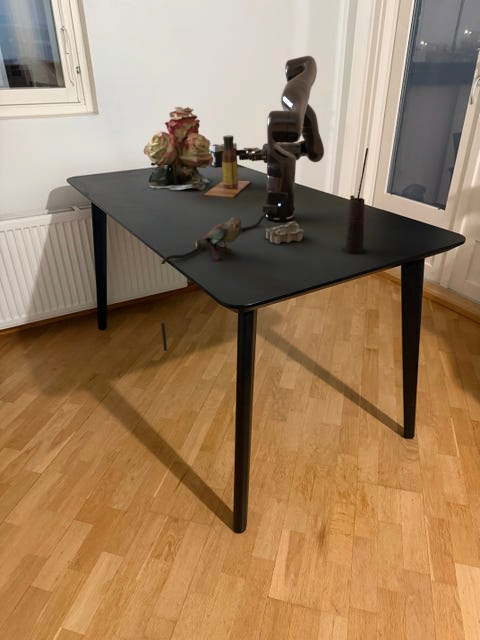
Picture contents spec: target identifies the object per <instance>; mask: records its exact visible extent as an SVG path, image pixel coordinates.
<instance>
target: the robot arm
mask: <svg viewBox="0 0 480 640" xmlns="http://www.w3.org/2000/svg"><path fill="white" fill-rule="evenodd" d="M284 71H285V74H284V75H285V79H286V84H285V85H284V87H283V90H282V93H281V96H280V105H281V107H282V110H270V111H269V113H268V115H267V119H266V141H267V142H266V143H264V144H262V148H261V149H260V148H259V147H244V148H242V149H237V150H235V151H236V154H237V157H238V160H239V161H251V162H259V161H260V162H261V161H262V162H263V163H264V164H266V192H265V193H266V197H265V199H266V200H265V203H264V204H263V205H262V213H263V214H262V215H261V216H260V217H259V219H258V221H257V222H255V223H254V224H252V225H250V226H249V225H248V226H243V227H242V226H241V227H242V231H247V230H251V229H254V228H256V227H258V226H259V225H260V224H261V223H262V221H263V220H264V218H266V219H267V221H273V222H283V223H284V222H286V223H287V221H290V220H293V219H294V216H295V215H294V212H295V211H296V208H295V205H294V204H295V202H294V201H295V188H296V187H295V186H296V184H295V183H296V171H297V170H296V168H297V161H299V160H300V159H301V158H302V157H306V158H307V159H308V160H309V162H311V163H318V162H321V160H323V158H324V156H325V147H324V142H323V140H322V136H321V135H320V130H319V128H320V127H319V122H318V117H317V114H316V112H315V110H314V108H313V107H312V105H310V104H309V100H310V96H311V91H312V88H313V86H314V84H315V82H316V79H317V74H318V66H317V61H316V59H315V58H314V57H313V56H312V55H304V56H299V57H295V58H290V59H288V60H287V61H286V62H285V66H284ZM301 137H302V139H303V140H300V139H301ZM299 140H300V141H299ZM200 250H203V248H196V247H195V248H193V249H192V250H189V251H188V252H186V253H183V254H170V255H167V256H166V257H164V258H163V259H162V260H161V262H160V264H161V265H165V264H166V262H167V261H169V260H171V259H183V258H186V257H189V256H191V255H193V254H195V253H197V252H198V251H200ZM160 325H161V333H162V335H161V336H162V342H163V344H162V345H163V352H167V351H168V345H167V335H166V326H165V325H166V324H165V322H160Z"/></svg>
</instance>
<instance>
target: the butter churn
mask: <svg viewBox="0 0 480 640" xmlns="http://www.w3.org/2000/svg"><path fill="white" fill-rule="evenodd" d="M364 153H365V155H364V159H363V164H362V170H361V176H360V181H359V187H358V193H357V197H355V195H354V194H353V195H350V196H349V201H348V202H349V203H348V208H347V209H348V210H347V218H346V219H347V220H346V232H345V242H344V243H345V244H344V251H345V252H346V253H348V254H353V255H355V254H361V253H363V252H364V248H365V247H364V246H365V245H364V241H365V240H364V237H365V232H364V231H365V211H366V210H365V206H366V205H365V201H366V200H365V199H364V198H363V197H361V191H362V185H363V181H364V180H363V179H364V175H365V174H364V173H365V168H366V164H367V159H368V153H369V148H368V147H366V149H365V152H364Z"/></svg>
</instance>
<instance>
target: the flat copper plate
mask: <svg viewBox="0 0 480 640" xmlns="http://www.w3.org/2000/svg"><path fill="white" fill-rule="evenodd" d="M250 184H251V181H244V180H238V187H236V188H225V187H224V184H223V180H221V181H220V182H219V183H218V184H216V185H214V186H213V187H212V188H211V189H209V190H208V191H206V192H205V193H204V196H205V197H207V196H208V197H220V198H231V199H232V198H235V197H236V196H237V195H238V194H239V193H240V192H242V190H244V189H245V188H246V187H247V186H248V185H250Z"/></svg>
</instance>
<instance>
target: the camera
mask: <svg viewBox="0 0 480 640" xmlns="http://www.w3.org/2000/svg"><path fill="white" fill-rule="evenodd" d="M237 145H238V144H237V143H236V142H233V146H234V149H235V150H238V146H237ZM209 149H210V152H209V153H210V155H212V157H213V163H212V164H211V165H210V166H211V167H213V168H217V167H222V152H223V150H224V143H219V144H218V143H217V144H216V143H215V144H214V143H213V144H210V146H209Z"/></svg>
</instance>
